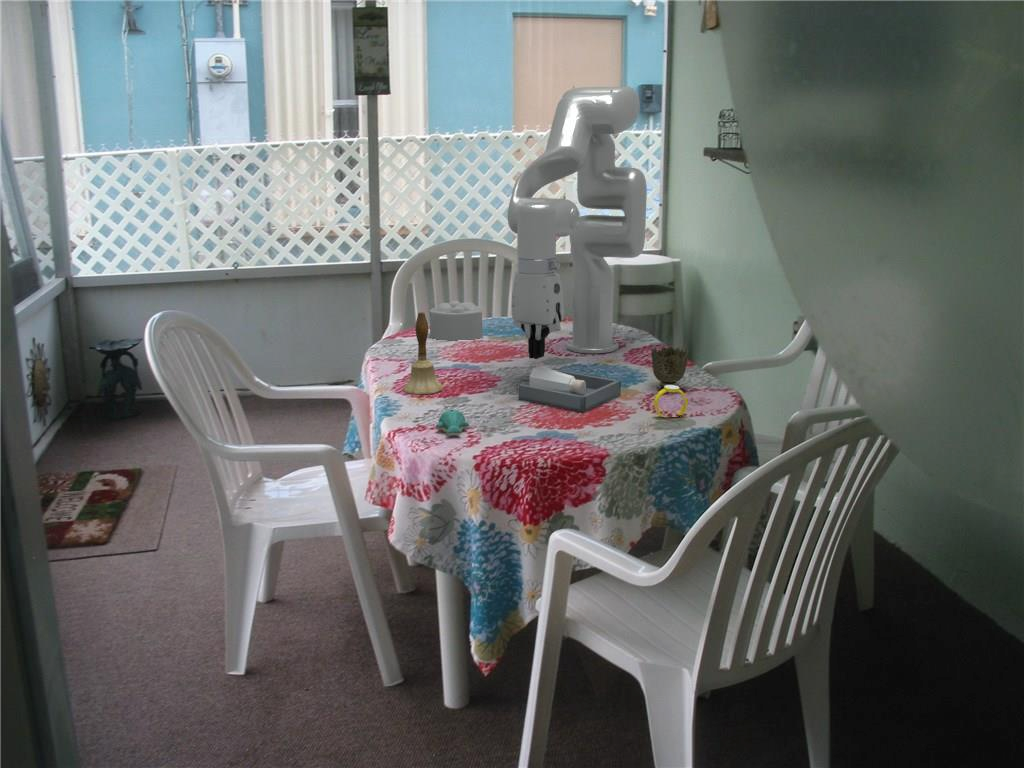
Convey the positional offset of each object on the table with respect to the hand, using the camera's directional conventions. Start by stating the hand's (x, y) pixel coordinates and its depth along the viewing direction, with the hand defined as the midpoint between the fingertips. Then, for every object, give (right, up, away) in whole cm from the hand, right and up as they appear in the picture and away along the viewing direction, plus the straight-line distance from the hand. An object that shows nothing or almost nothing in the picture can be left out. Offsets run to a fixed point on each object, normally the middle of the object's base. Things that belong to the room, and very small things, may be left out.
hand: (536, 357), depth 188 cm
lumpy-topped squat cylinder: (-19, +6, +50) cm, 54 cm away
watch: (+24, -12, -15) cm, 31 cm away
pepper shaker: (0, -4, +2) cm, 5 cm away
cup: (+27, -6, +3) cm, 28 cm away
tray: (+6, -8, -3) cm, 11 cm away
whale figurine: (-15, -14, -22) cm, 31 cm away
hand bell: (-23, -7, +4) cm, 24 cm away
